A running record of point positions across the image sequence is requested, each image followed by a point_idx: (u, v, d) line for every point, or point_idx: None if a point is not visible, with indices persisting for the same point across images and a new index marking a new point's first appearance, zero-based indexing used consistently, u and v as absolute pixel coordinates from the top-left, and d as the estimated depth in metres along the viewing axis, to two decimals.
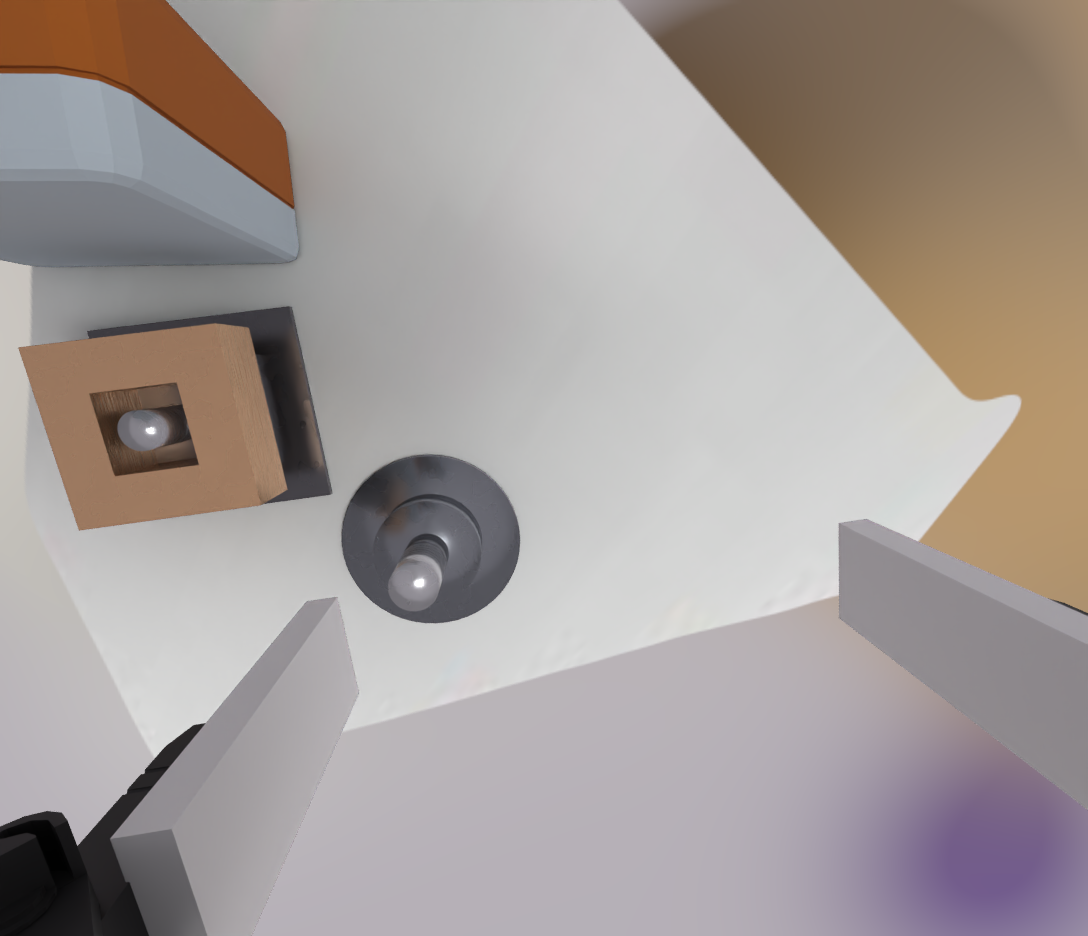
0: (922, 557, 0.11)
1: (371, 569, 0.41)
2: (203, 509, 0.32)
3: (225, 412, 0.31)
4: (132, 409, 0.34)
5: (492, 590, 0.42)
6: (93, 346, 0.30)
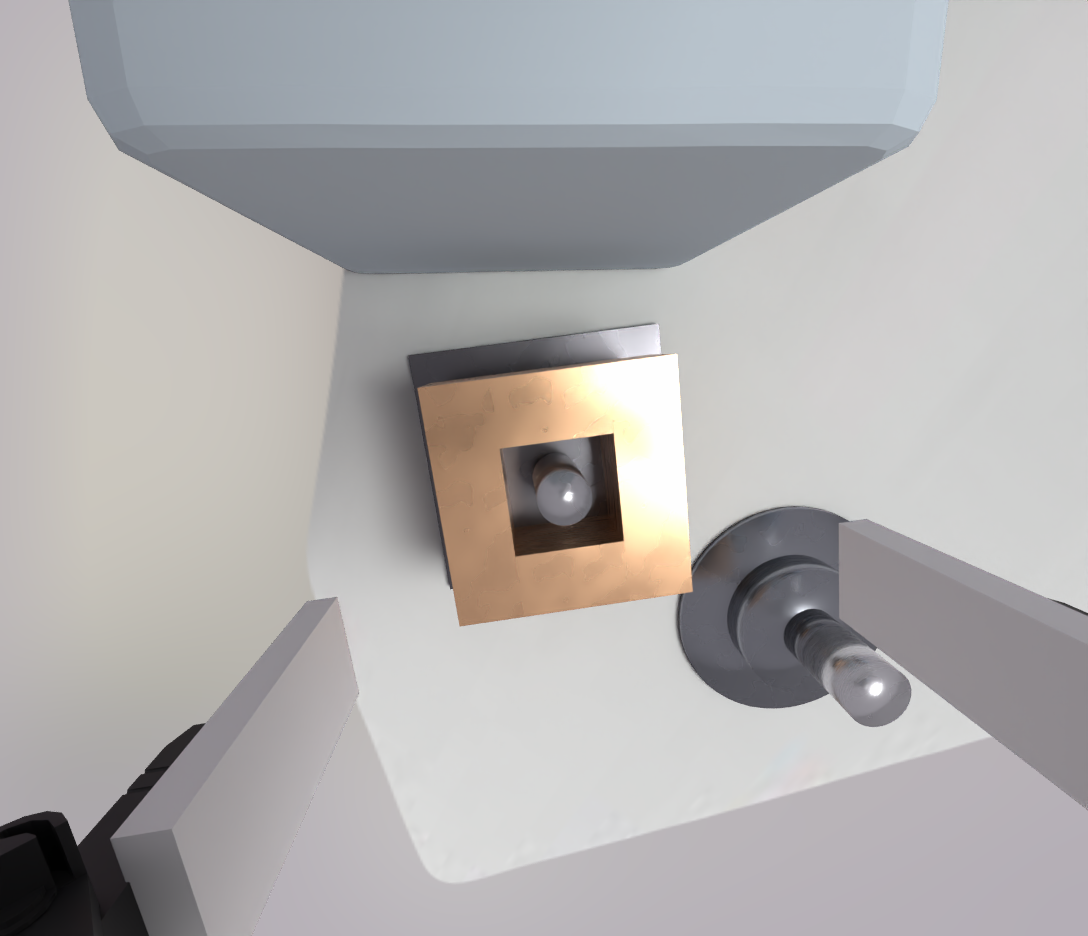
0: (922, 557, 0.11)
1: (711, 645, 0.34)
2: (620, 598, 0.24)
3: (669, 472, 0.23)
4: None
5: None
6: (514, 385, 0.22)
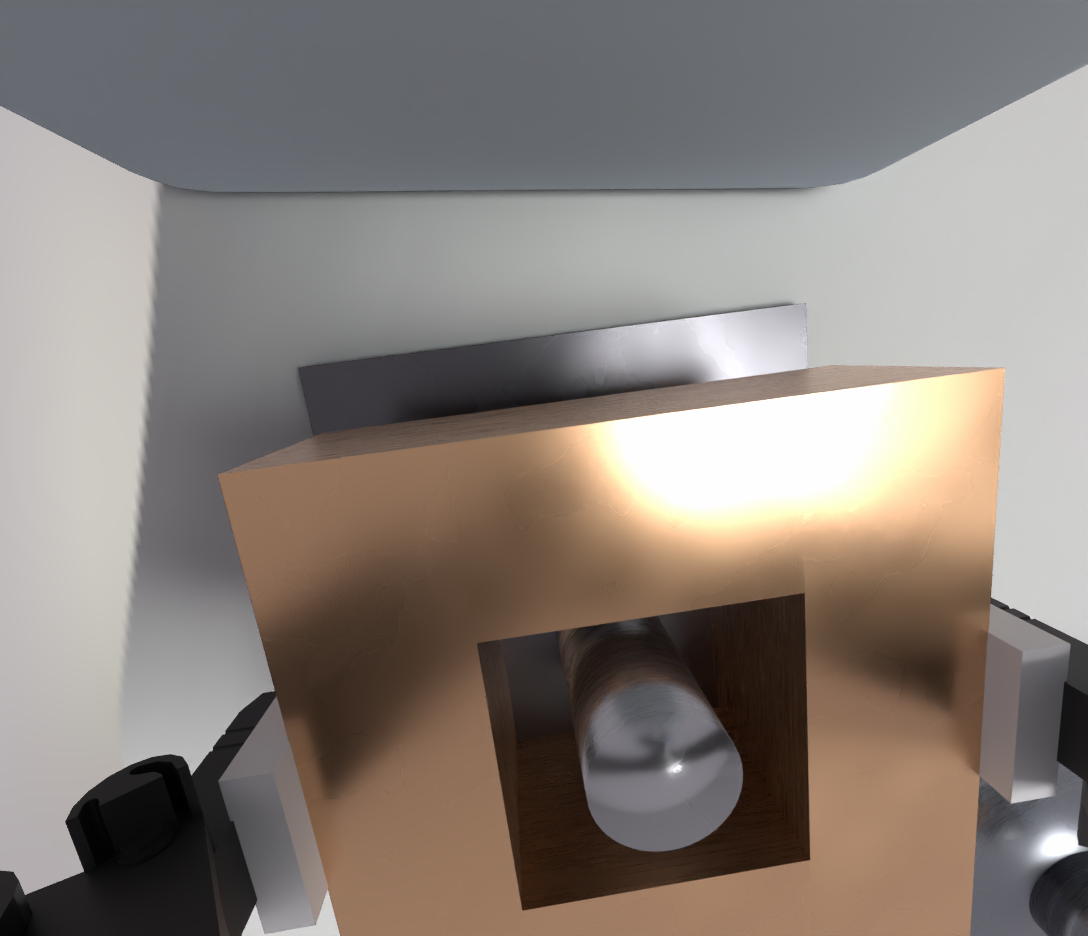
0: None
1: None
2: None
3: (944, 689, 0.08)
4: None
5: None
6: (521, 464, 0.07)
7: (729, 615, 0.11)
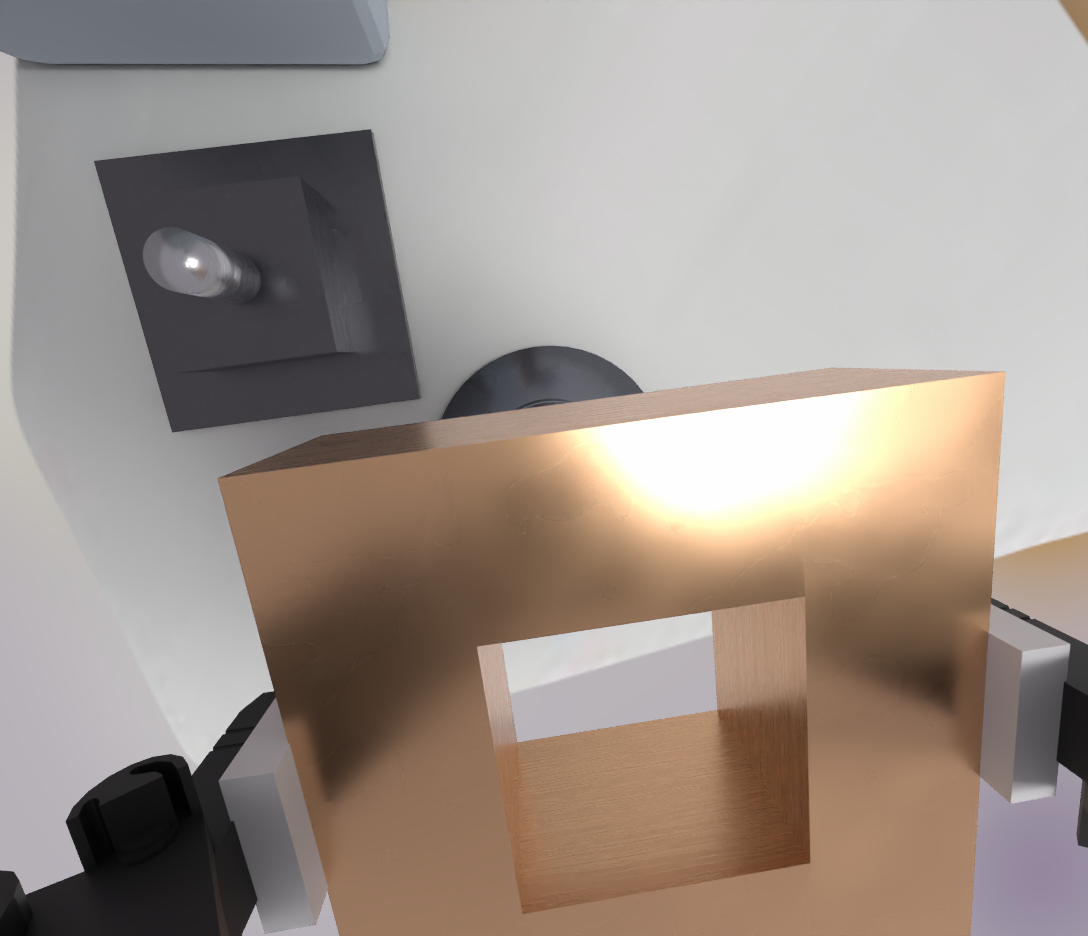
0: None
1: None
2: None
3: (944, 693, 0.08)
4: None
5: None
6: (522, 468, 0.07)
7: (729, 618, 0.11)
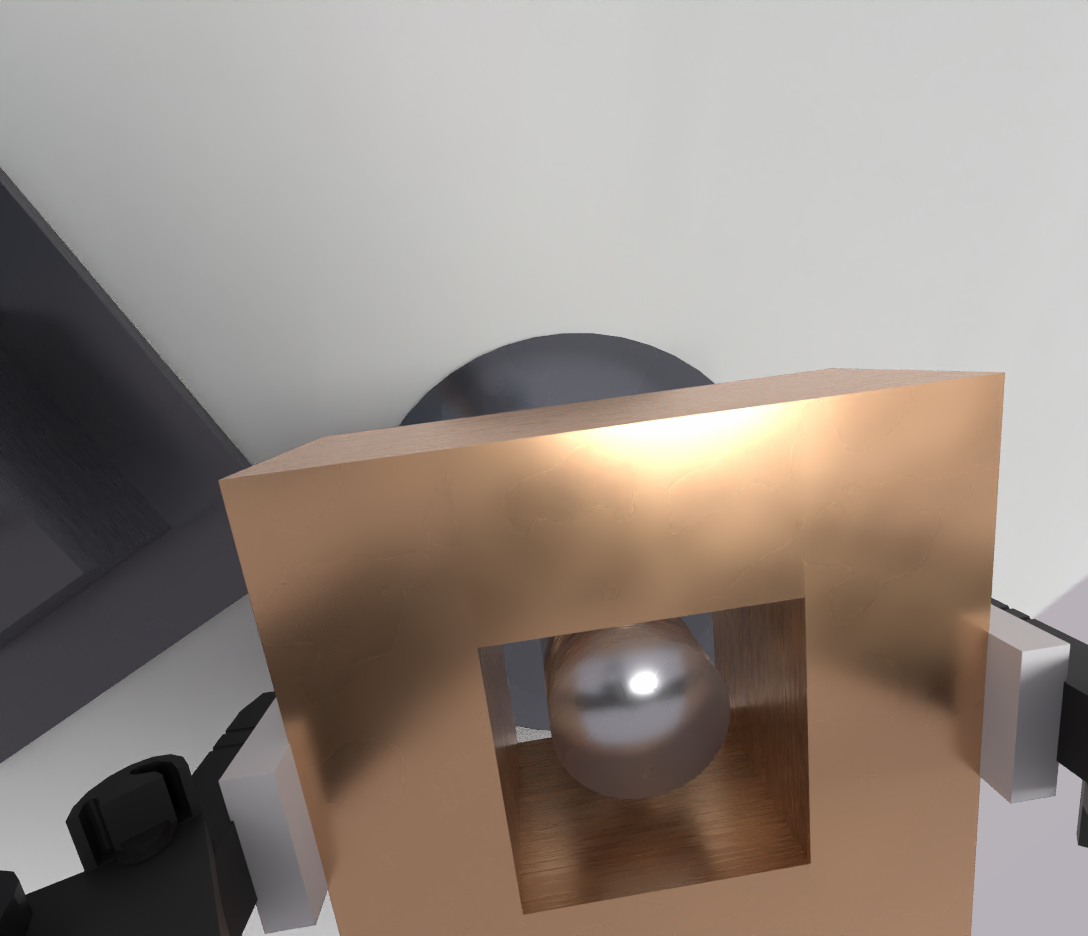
0: None
1: None
2: None
3: (944, 693, 0.08)
4: None
5: None
6: (522, 469, 0.07)
7: (729, 618, 0.11)
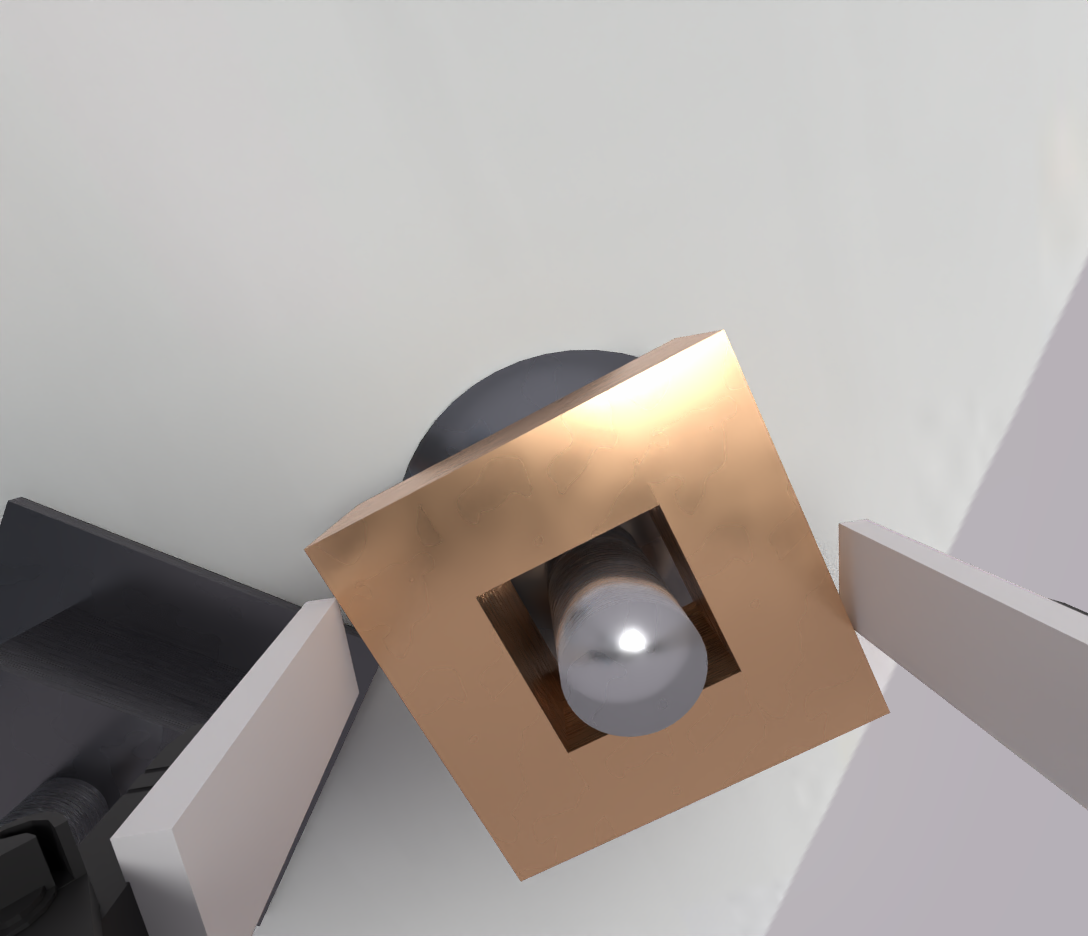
0: (922, 557, 0.11)
1: None
2: (766, 761, 0.14)
3: (781, 535, 0.13)
4: (504, 585, 0.16)
5: None
6: (459, 488, 0.12)
7: (662, 533, 0.16)
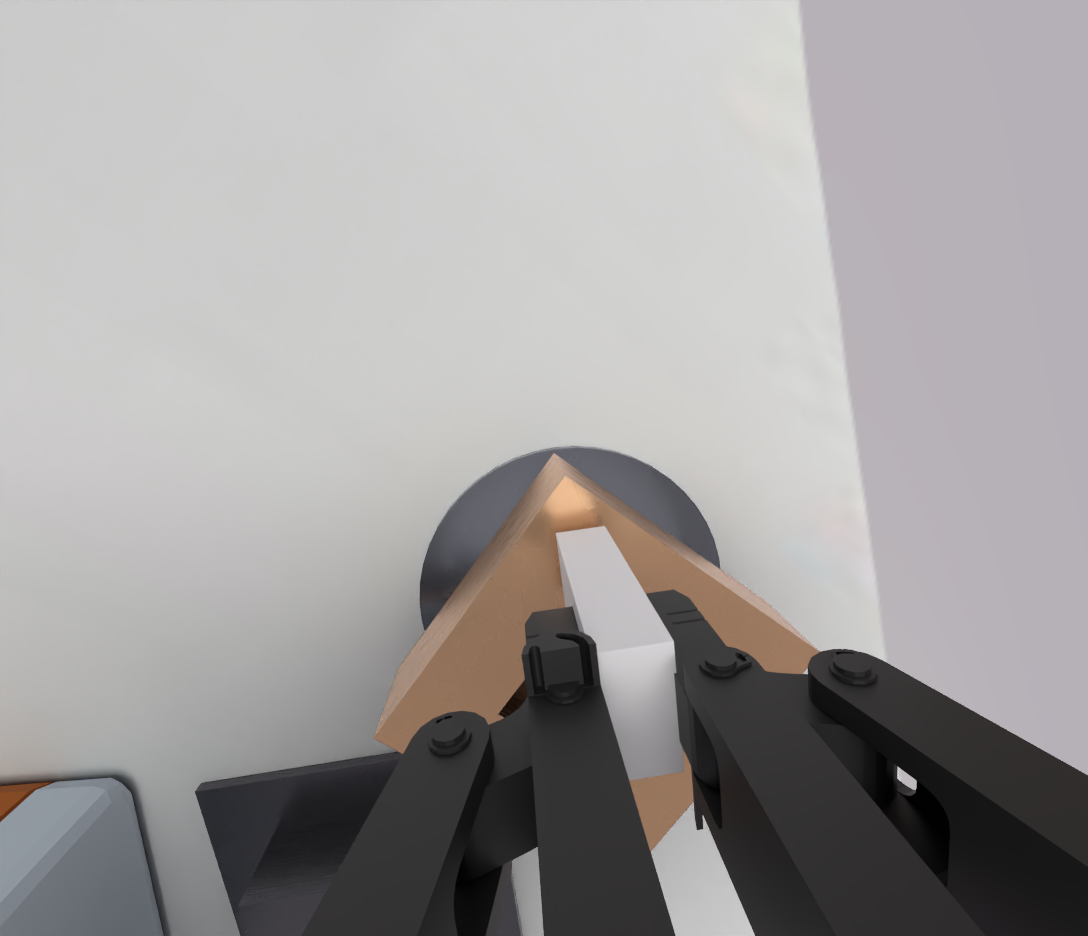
0: (603, 559, 0.13)
1: None
2: None
3: (677, 578, 0.17)
4: None
5: (668, 497, 0.23)
6: (450, 654, 0.17)
7: None
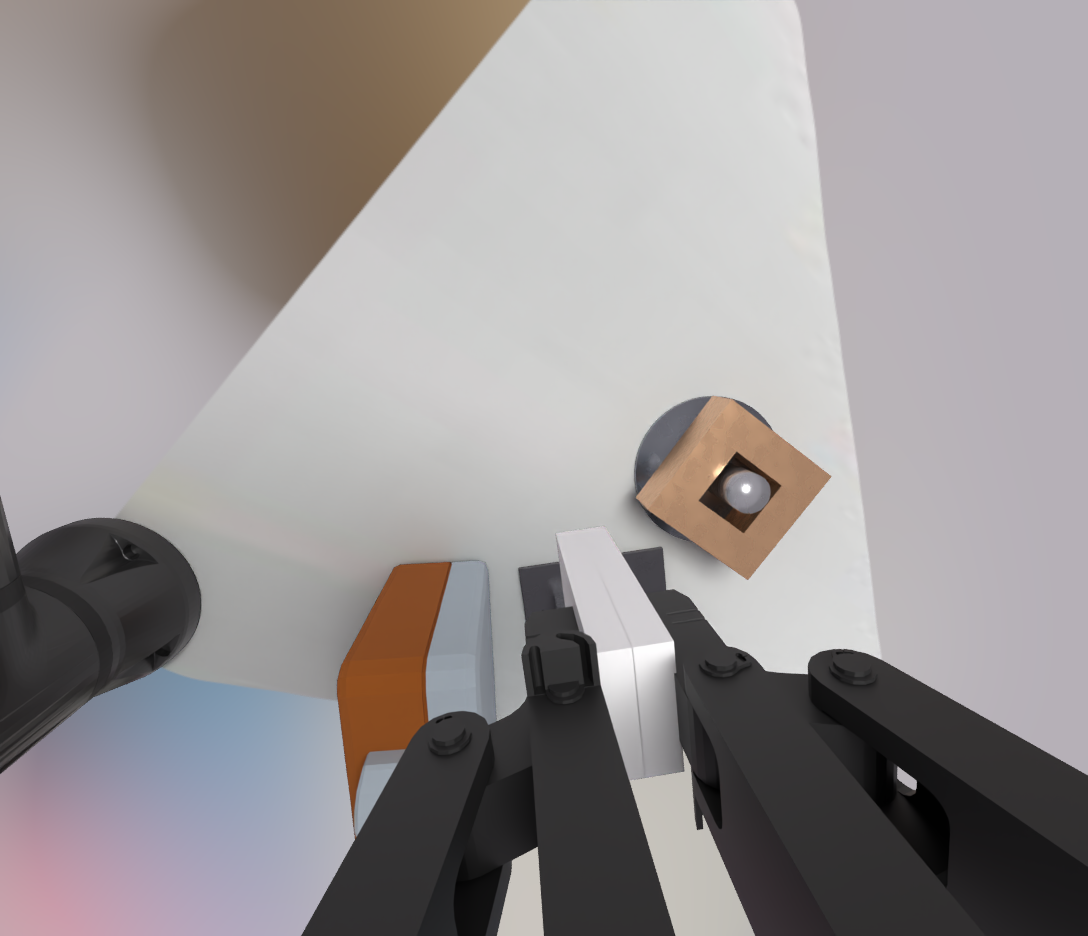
0: (603, 559, 0.13)
1: None
2: (802, 508, 0.43)
3: (773, 442, 0.42)
4: None
5: None
6: (681, 473, 0.42)
7: (738, 458, 0.45)
